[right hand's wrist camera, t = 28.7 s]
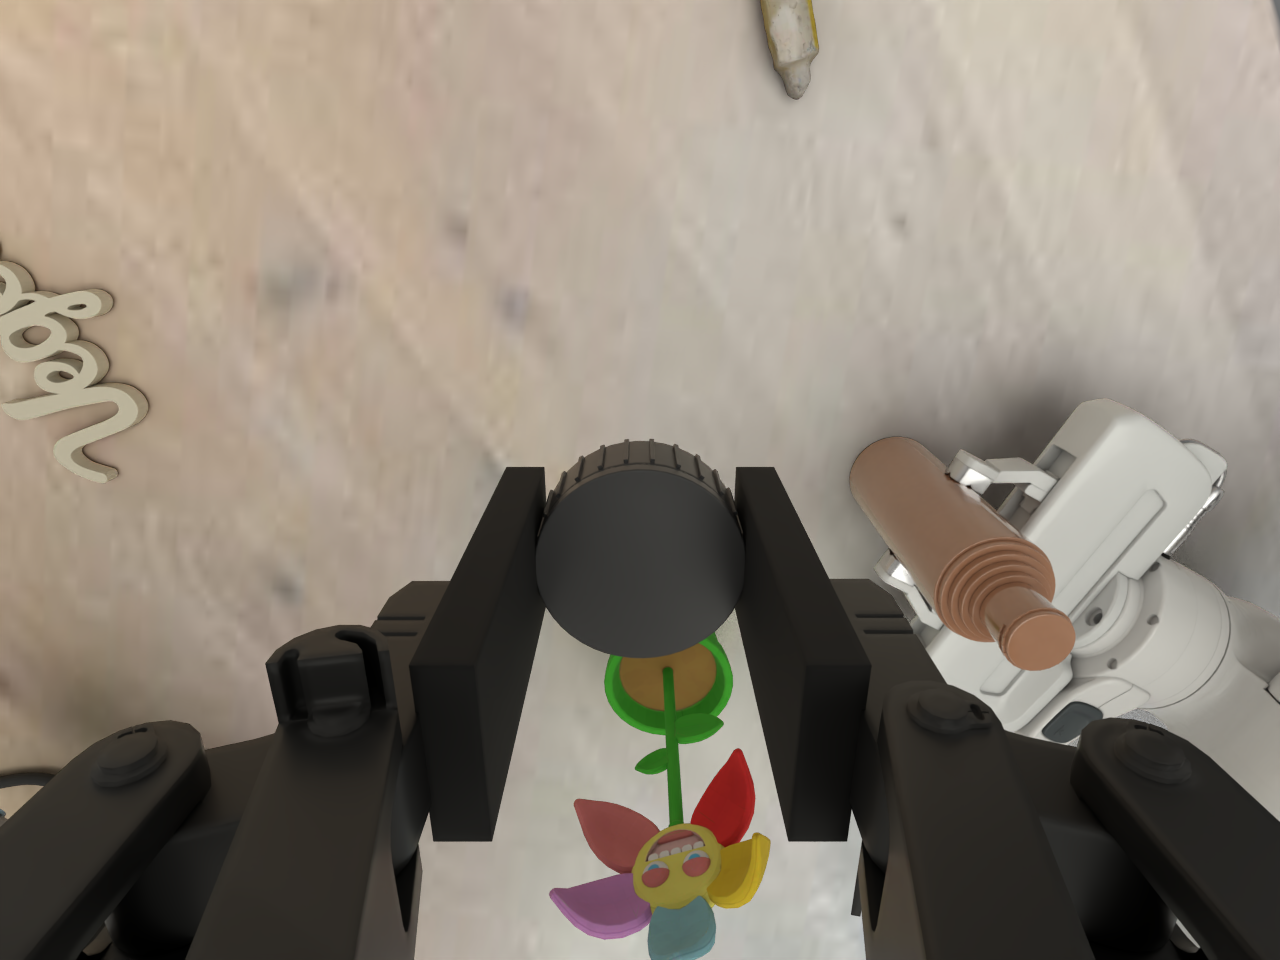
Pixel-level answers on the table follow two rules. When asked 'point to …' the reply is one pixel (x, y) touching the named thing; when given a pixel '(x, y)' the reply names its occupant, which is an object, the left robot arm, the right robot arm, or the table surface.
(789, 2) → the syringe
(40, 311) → the decorative sign
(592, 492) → the cap
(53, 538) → the table surface
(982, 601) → the bottle
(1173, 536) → the left robot arm
